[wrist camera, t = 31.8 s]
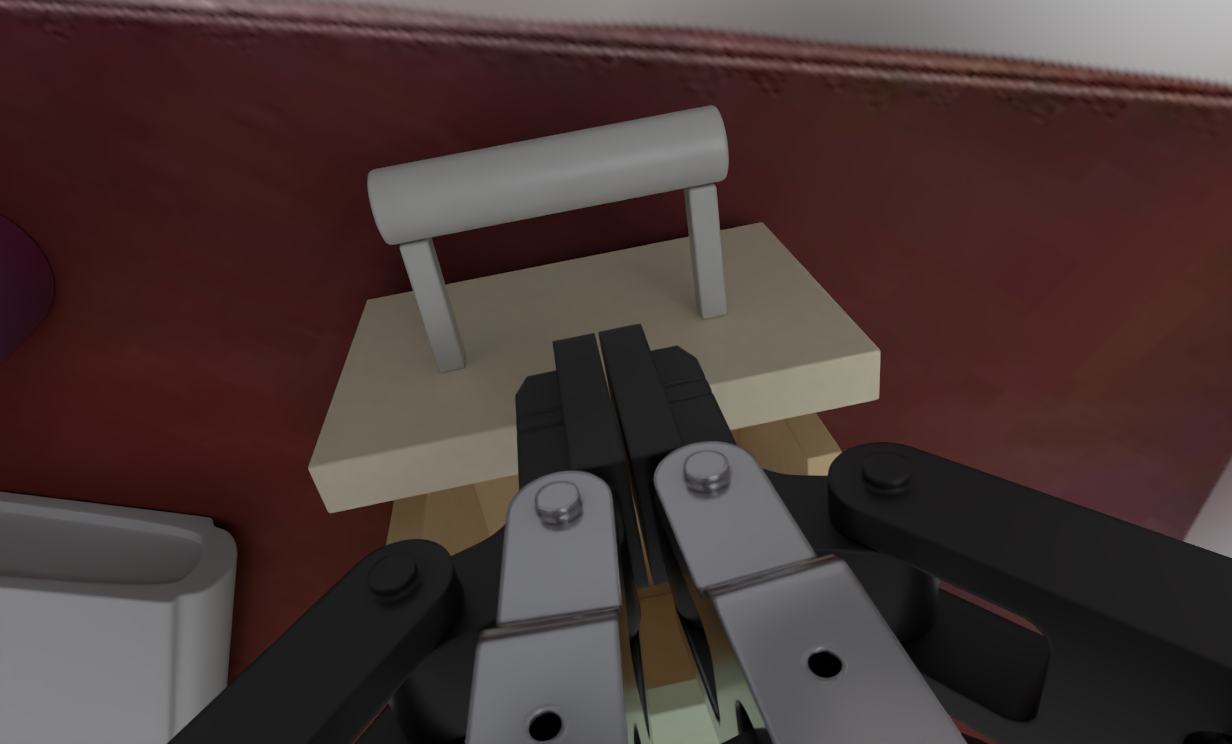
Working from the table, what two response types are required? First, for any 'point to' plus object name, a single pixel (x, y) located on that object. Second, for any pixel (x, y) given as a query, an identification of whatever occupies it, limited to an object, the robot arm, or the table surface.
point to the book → (109, 620)
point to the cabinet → (680, 715)
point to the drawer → (574, 334)
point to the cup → (21, 286)
